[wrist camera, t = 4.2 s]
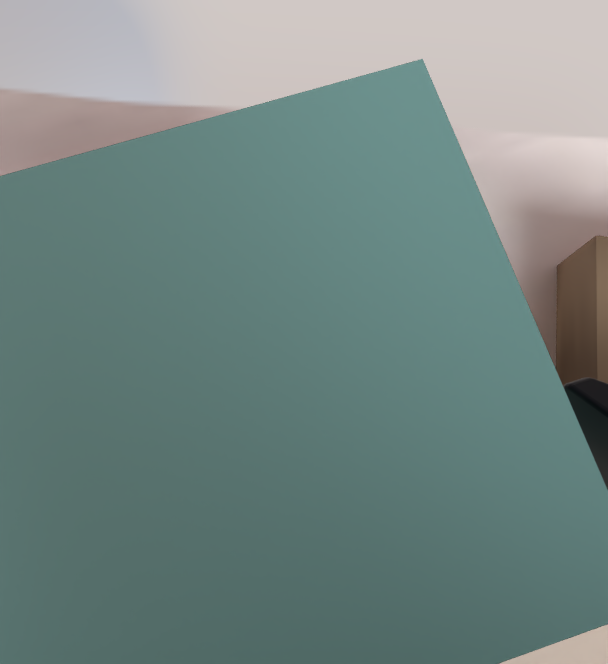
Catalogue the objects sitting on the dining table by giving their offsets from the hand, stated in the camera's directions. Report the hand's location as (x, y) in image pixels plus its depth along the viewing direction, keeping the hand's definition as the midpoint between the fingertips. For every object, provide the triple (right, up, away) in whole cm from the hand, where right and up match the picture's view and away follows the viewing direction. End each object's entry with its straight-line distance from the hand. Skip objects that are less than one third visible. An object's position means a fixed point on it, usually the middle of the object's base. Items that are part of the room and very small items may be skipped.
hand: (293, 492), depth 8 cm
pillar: (0, -1, +9) cm, 9 cm away
